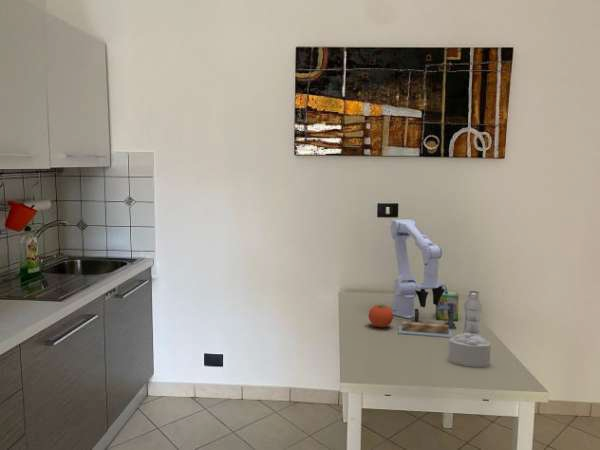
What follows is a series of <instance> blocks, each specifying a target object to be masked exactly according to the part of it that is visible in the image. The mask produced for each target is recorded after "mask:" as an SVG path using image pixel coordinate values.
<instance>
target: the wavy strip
mask: <svg viewBox="0 0 600 450" xmlns="http://www.w3.org/2000/svg"><path fill="white" fill-rule="evenodd" d="M402 326H403V327H402V330H403V331H413V332H426V333H438V334H448V333H449V330H450V329H449V326H448V325H445V323H444V324H443V323H429V322H421V323H418V322H411V321H402Z"/></svg>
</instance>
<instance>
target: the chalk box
mask: <svg viewBox="0 0 600 450" xmlns="http://www.w3.org/2000/svg"><path fill="white" fill-rule="evenodd" d="M444 289H445V290H444V292H443V294H442V296H441V298H440V301H439V304H438V305H435V312H434V313H435V318H436V320H439V321H440V320H442V321H448V311H452V314H453V321H456V322H458V321H459V294H458V292H456V291H450V290H448V289H447V286H446V284H444Z"/></svg>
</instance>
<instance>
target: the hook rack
mask: <svg viewBox="0 0 600 450" xmlns="http://www.w3.org/2000/svg"><path fill="white" fill-rule="evenodd" d="M419 312H420V311H419V309H418V308H414V313H415V316H414V317H413V318H414V319H411V321H410V322H418V323H422V320H419V318H420V313H419ZM444 325H448V326H449V330H456V329H457V327H456V324H455V322H454V320H453V314H452V311H448V320H447V322H445V321H444Z"/></svg>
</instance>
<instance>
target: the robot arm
mask: <svg viewBox="0 0 600 450" xmlns="http://www.w3.org/2000/svg"><path fill="white" fill-rule="evenodd" d="M416 225H417V224H416V222H415V220H413V219H412V218H411V219H393V220H392V221H391V224H390V226H389V227H390V234H391V238H392V240H393V242H394V250H395V256H396V263H397V268H398V274H399V275H398V276H397V277H396V278H395V279H394V293H395V294H394V295H393V297H392V302H391V311H392V313H393V316H397V317H401V318H406V319H411V318H414V316H415V298H416V297H417V298H418V302H419V307H421V308H424V309H425V308H426V305H427V303H426V302H427V298H428V294H429V291H426V290H431V292H432V303H433V305H435V306H436V305H438V304H439V301H440V298H441V296H442V294H443V292H444V291H446V290H445V286H444V285H445V282H442V281H440V282H439V280H438V277H439V264H440V263H439V260H440V259H441V257H442V256H443V249H442V247H441V245H439V244H434V243H433V242H432V241H431V240H430V239H429V238H428V236H427V235H426V234H421V232H420V230H419V229H418V228H417V226H416ZM410 237H411V238H412V239H413V240H414V241H415V242H414V244H415V246H416V247H418V249H419V250H420V251H421V255H422V262H423V281H422V283H421V284H418V280H417V278H416V277H415V276H414V275H412V274H411V268H410V261H409V255H408V248H407V242H406V241H407V240H408V239H409V238H410Z"/></svg>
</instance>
